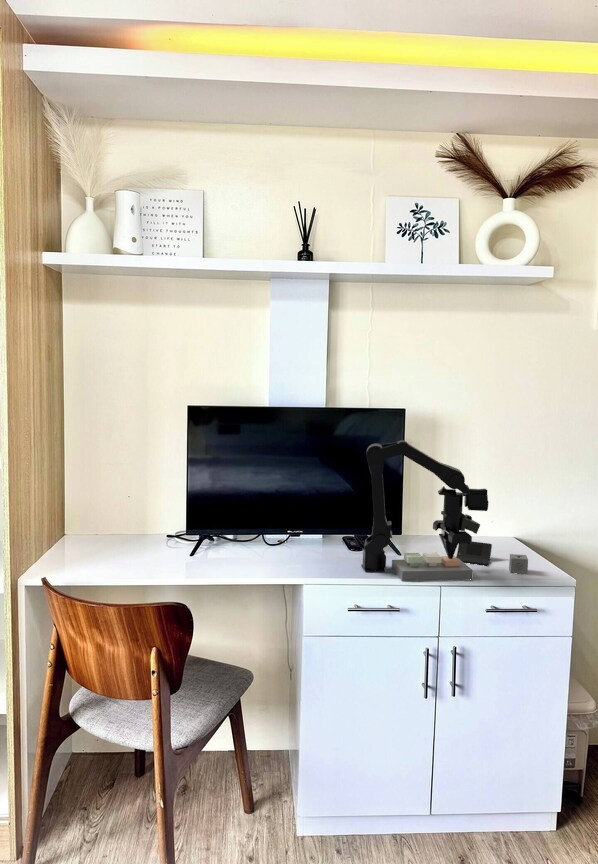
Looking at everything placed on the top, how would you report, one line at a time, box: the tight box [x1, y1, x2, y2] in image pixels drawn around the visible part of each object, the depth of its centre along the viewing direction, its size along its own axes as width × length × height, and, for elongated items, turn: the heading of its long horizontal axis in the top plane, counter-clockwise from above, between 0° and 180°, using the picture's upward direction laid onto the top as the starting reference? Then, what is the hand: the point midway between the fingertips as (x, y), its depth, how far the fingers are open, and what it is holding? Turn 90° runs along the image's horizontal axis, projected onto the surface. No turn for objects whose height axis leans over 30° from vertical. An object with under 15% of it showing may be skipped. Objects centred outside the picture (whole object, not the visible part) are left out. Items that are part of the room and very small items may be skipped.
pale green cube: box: [403, 552, 423, 567], centre depth 215 cm, size 5×5×5 cm
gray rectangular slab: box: [391, 558, 474, 582], centre depth 216 cm, size 22×12×3 cm, turn 98°
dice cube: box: [508, 553, 529, 575], centre depth 221 cm, size 5×5×5 cm
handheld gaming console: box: [455, 540, 493, 567], centre depth 232 cm, size 12×7×10 cm
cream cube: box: [421, 552, 442, 566], centre depth 215 cm, size 5×5×5 cm
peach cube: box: [440, 555, 460, 566], centre depth 216 cm, size 5×5×5 cm
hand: (450, 558), depth 216 cm, fingers closed, pressing on peach cube
